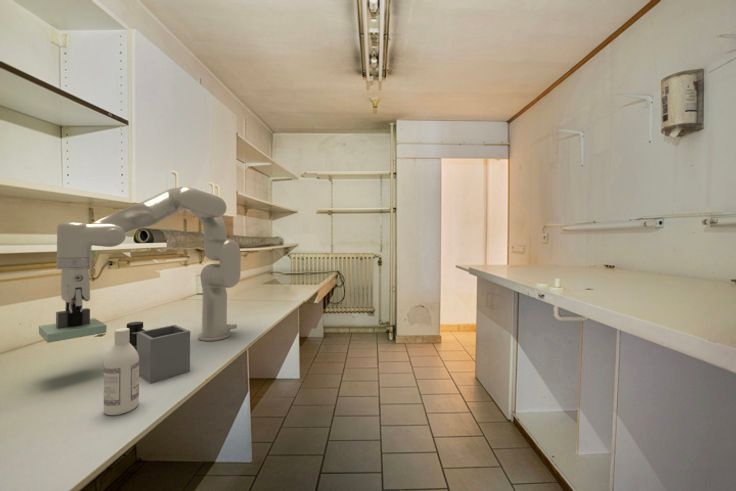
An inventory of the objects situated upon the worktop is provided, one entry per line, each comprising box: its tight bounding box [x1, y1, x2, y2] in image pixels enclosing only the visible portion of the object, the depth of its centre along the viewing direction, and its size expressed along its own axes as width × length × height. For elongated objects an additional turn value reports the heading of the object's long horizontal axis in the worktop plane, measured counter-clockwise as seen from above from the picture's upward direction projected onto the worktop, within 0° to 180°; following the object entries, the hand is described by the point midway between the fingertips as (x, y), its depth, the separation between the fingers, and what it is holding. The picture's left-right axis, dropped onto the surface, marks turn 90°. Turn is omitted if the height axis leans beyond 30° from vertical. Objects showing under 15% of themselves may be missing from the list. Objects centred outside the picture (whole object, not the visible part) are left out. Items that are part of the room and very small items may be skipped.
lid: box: [38, 307, 108, 344], centre depth 93 cm, size 13×13×7 cm
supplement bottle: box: [125, 321, 146, 351], centre depth 111 cm, size 7×7×12 cm
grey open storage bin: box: [137, 324, 191, 384], centre depth 99 cm, size 11×11×13 cm
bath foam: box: [103, 327, 140, 416], centre depth 78 cm, size 7×7×20 cm
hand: (73, 324), depth 93 cm, fingers closed on lid, 2 cm apart
